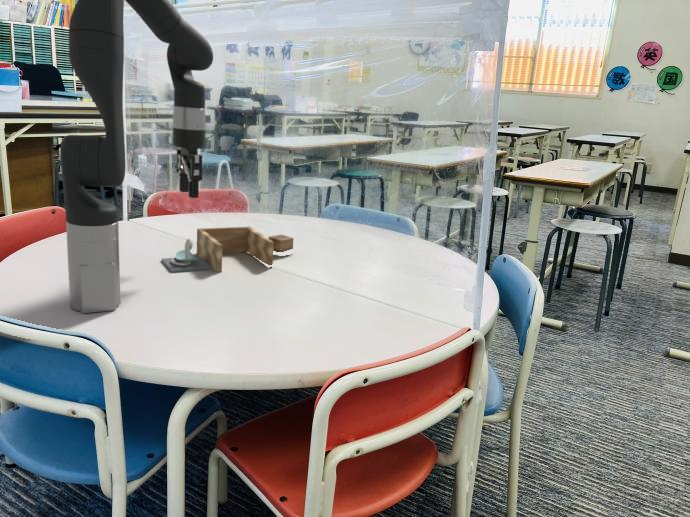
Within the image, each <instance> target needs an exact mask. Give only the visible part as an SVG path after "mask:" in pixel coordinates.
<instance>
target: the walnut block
mask: <svg viewBox="0 0 690 517" xmlns="http://www.w3.org/2000/svg"><path fill="white" fill-rule="evenodd" d="M268 239H270V240H271V241H273V242H274V250H273V251H276V252H284V251H287V250H290V249H293V250H294V237H290V236H288V235H285V234H277V235H270V236H268Z"/></svg>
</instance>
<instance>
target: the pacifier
mask: <svg viewBox="0 0 690 517" xmlns="http://www.w3.org/2000/svg"><path fill="white" fill-rule="evenodd" d="M193 245H194V244H193V241H192V240H191V239H190V238H187V239H186V240H185V243H184V249H181V250H179V251H177V253H176V254H175V256H174V257H172V258H173V259H172V260H171V262H172V263H173V264H175V265H179V266H185V265H189V264H191V263H192V261H195V260H198V258H193V257H195V256H194V254H193V253H192V252H191V250H192V248H193ZM176 260H179V261H181V263H178V262H176Z"/></svg>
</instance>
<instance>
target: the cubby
mask: <svg viewBox="0 0 690 517" xmlns="http://www.w3.org/2000/svg"><path fill="white" fill-rule="evenodd" d="M196 229H197V230H196V254H197V256H200V257H201V258H203V259H204V260H205V261H206V262H207V263H208V264H209V265H210V266H211V267H212V270H214V269H215V270H216V271H217V272H216V271H215V270H214V271H215V272H216V273H222V270H223V254H227V253H242V251H247V252H249V253H250V254H251V255H253V256H255V257H256V258H258V259H259V260H261V261H262V262H264V263H266V264H268V265H272V264H274V255H273V250H274V242H273V241H271V240H270V239H269V237H268V236H265V235H263V234H262V233H260V232H259V231H257V230H255V229H254V228H252V227H251V226H237V227H236V226H233V227H230V226H229V227H228V226H227V227H207V228H206V227H205V228H196ZM247 252H246V253H247ZM249 253H248V254H249ZM250 254H249V255H250ZM251 255H250V256H251ZM253 256H252V257H253Z"/></svg>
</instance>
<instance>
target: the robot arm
mask: <svg viewBox="0 0 690 517" xmlns="http://www.w3.org/2000/svg"><path fill="white" fill-rule="evenodd" d="M125 2H126V3H127V4H128V5H129V7H131V8H132V9H133V10H134V11H135V12H136V14H137V15H138V16H139V17H140V18H141V20H142V21H143V23H145V25H146V26H147V27H148V28H149V29H150V31H151V33H152V34H154V36H155V37H156V38H157V39H158V40H160V41H161V42H163V43H166V44H168V46H167V50H166V60H167V61H166V62H167V64H168V65H167V66H168V70H169V73H170V77H171V81H172V85H173V113H172V145H173V146H174V147H175V148H178V149H177V150H176V168H175V169H176V170H175V172H176V174H178V177H179V187H178V188H179V192H180V193H188V197H189V198H190V199H197V198H199V187H200V186H199V184H200V182H202V181H203V155H202V154H198V150H199V149H200V150H202V149H205V148H206V134H207V133H206V131H207V130H206V128H207V126H206V124H207V120H206V118H207V117H206V90H205V85H204V84H203V83H201V82H199V81H197V80H195V79H194V76H193V72H192V71H200V72H201V71H205V70H208V69H209V68H210V67H211V66H212V64H213V62H214V53H213V49H212V47H211V46H212V45H211V44H210V43H209V41H208V40H207V39H206V37H205V36H204V35H202V34H201V32H199V31H198V30H197V29H196V28H194V26H193V25H191V24H190V23H189V22H187V21H186V20H185V19H184V18H183V17H182V16H181V14H180V13H179V11H178V10H177V9H176V7H175V5H173V3H172V1H171V0H77V1H76V4H75V5H74V8H73V11H72V13H71V16H70V20H69V26H68V58H69V63H70V65H71V67H72V70H73V72H74V74H76V77H77V78H78V79H79V81H80V83H81V85H82V86H83V87H84V88H85V91H86V92H87V93H88V95H89V96H90V98H91V99H92V101H93V103H94V105H95V106H96V108H97V110H98V112H99V114H100V117H101V119H102V121H103V122H102V123H103V126H104V130H105V136H93V135H78V134H69V135H68V134H67V135H66V136H64V137H63V139H62V141H61V143H60V150H59V156H60V157H59V158H60V159H59V160H60V170H61V176H62V177H61V179H62V187H63V197H64V198H63V199H64V210H65V227H66V248H67V250H66V251H67V269H68V287H69V305H70V307H71V309H73V310H75V311H78V312H80V313H81V314H90V313H91V314H92V313H97V312H98V313H99V312H107V311H108V312H109V311H116V310H117V307H119V306H120V304H121V280H120V278H121V276H120V273H121V272H120V270H121V268H120V266H121V265H120V231H119V228H120V226H119V224H120V223H119V209H118V208H117V206H116V205H114V204H113V203H111V202H108V201H105V200H103V199H100V198H98V197H97V196H94V195H92V194H91V193H90V192H88V191H87V189H86V186H87V187H88V186H89V187H105V188H110V187H111V188H116V187H120V186H122V184H123V183H124V180H125V176H126V146H125V128H124V108H123V105H124V104H123V102H124V101H123V98H124V97H123V96H124V95H123V92H124V66H125V64H124V63H125V37H124V12H125V10H124V8H125V7H124V6H125V4H124V3H125Z"/></svg>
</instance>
